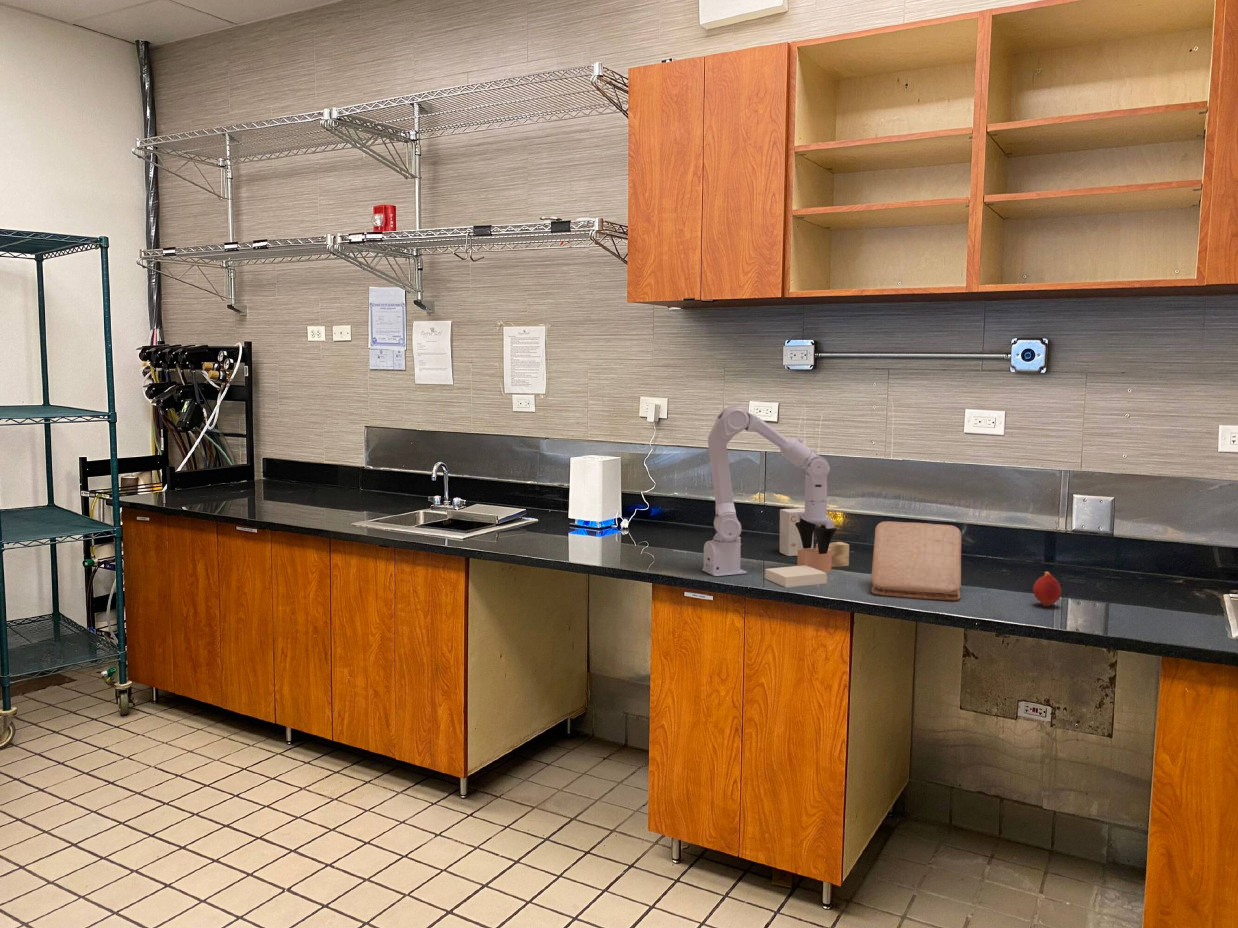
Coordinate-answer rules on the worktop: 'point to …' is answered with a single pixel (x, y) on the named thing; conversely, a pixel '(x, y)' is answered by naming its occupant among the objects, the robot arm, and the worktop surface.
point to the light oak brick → (839, 554)
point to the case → (917, 561)
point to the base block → (796, 576)
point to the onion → (1047, 589)
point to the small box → (790, 532)
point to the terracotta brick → (815, 559)
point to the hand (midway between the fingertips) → (814, 550)
